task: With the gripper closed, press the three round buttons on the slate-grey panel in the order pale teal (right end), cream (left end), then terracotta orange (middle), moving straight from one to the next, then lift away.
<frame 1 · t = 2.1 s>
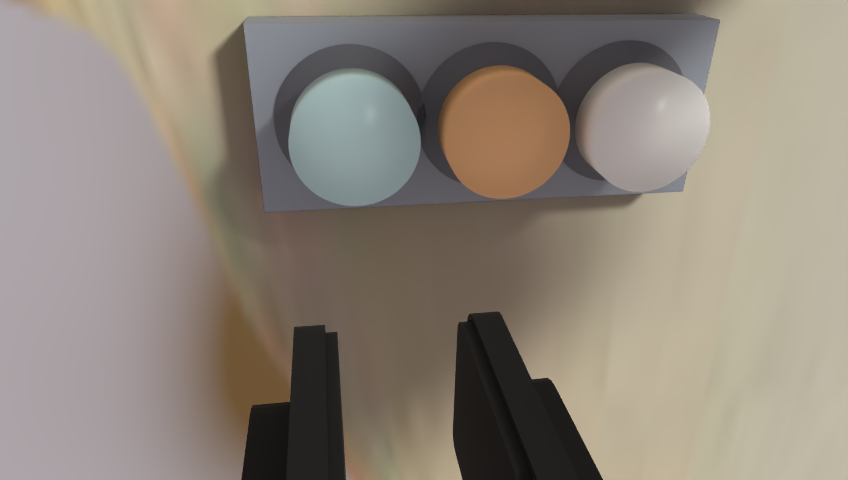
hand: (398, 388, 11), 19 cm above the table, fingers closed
orange button: (502, 132, 25), point 4 cm above the table, slide at 0.0 cm
cream button: (640, 127, 26), point 4 cm above the table, slide at 0.0 cm
button panel: (478, 105, 29), on the table
teal button: (354, 137, 25), point 4 cm above the table, slide at 0.0 cm
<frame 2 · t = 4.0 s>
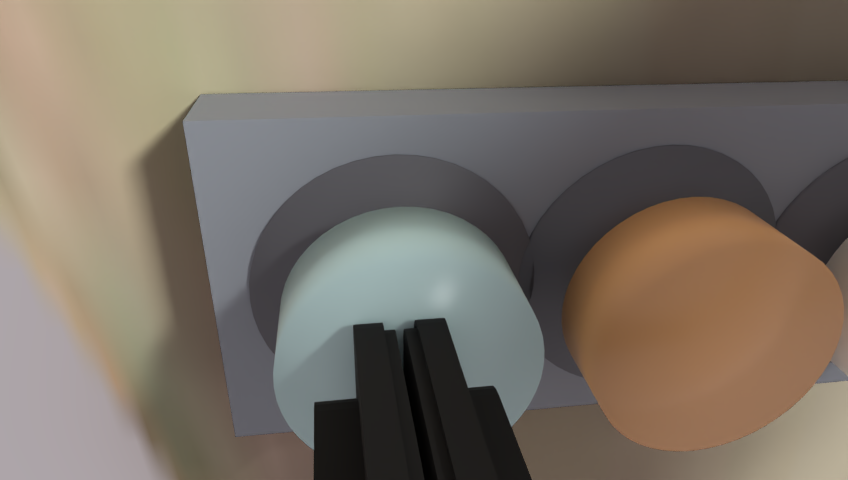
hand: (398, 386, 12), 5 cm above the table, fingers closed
orange button: (693, 326, 13), point 4 cm above the table, slide at 0.0 cm
button panel: (611, 235, 17), on the table
teal button: (406, 342, 12), point 4 cm above the table, slide at 0.2 cm, touching gripper
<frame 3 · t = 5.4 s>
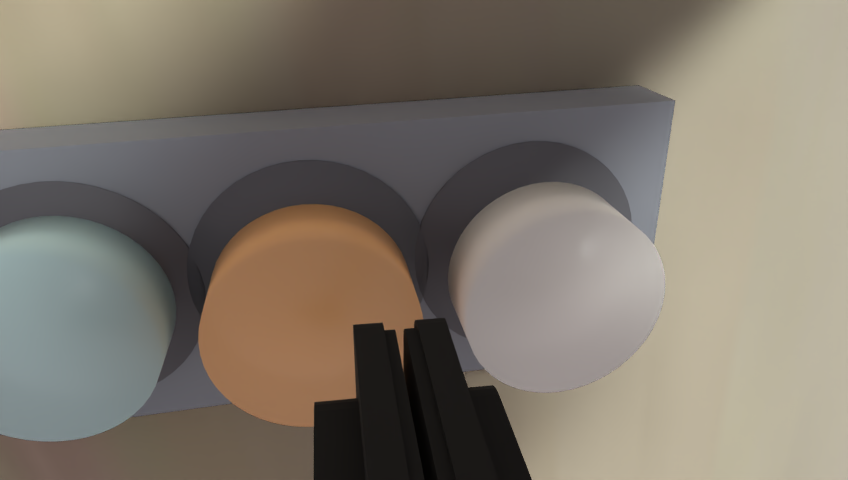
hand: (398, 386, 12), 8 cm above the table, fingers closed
orange button: (314, 316, 15), point 4 cm above the table, slide at 0.0 cm
cream button: (552, 288, 16), point 4 cm above the table, slide at 0.0 cm
button panel: (310, 241, 19), on the table
teal button: (56, 329, 15), point 3 cm above the table, slide at 0.8 cm
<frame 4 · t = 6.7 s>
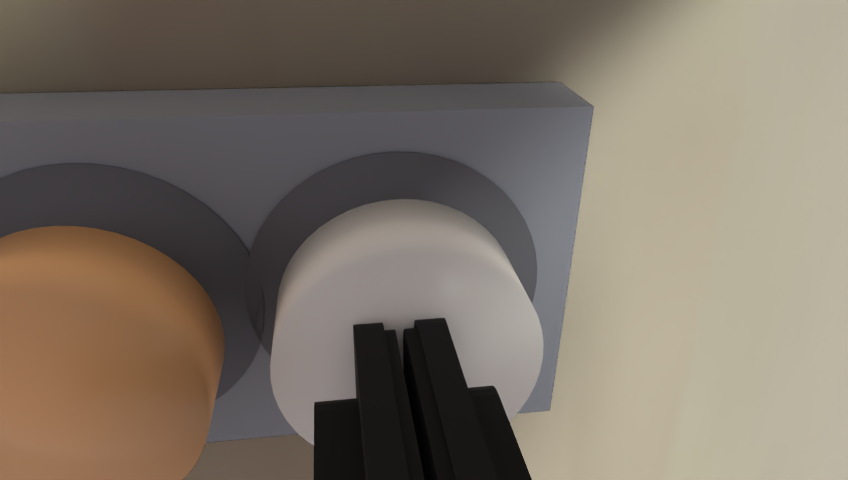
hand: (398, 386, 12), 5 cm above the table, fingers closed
orange button: (70, 377, 11), point 4 cm above the table, slide at 0.0 cm
cream button: (404, 336, 12), point 4 cm above the table, slide at 0.5 cm, touching gripper
button panel: (132, 260, 15), on the table
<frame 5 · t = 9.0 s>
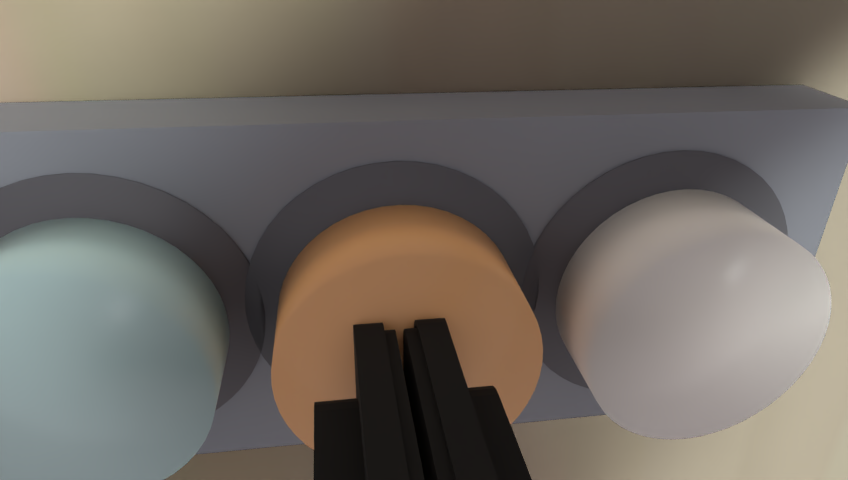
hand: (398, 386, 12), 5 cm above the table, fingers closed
orange button: (404, 341, 12), point 4 cm above the table, slide at 0.7 cm, touching gripper
cream button: (685, 316, 13), point 3 cm above the table, slide at 0.8 cm
button panel: (387, 255, 15), on the table
teal button: (83, 362, 12), point 3 cm above the table, slide at 0.8 cm
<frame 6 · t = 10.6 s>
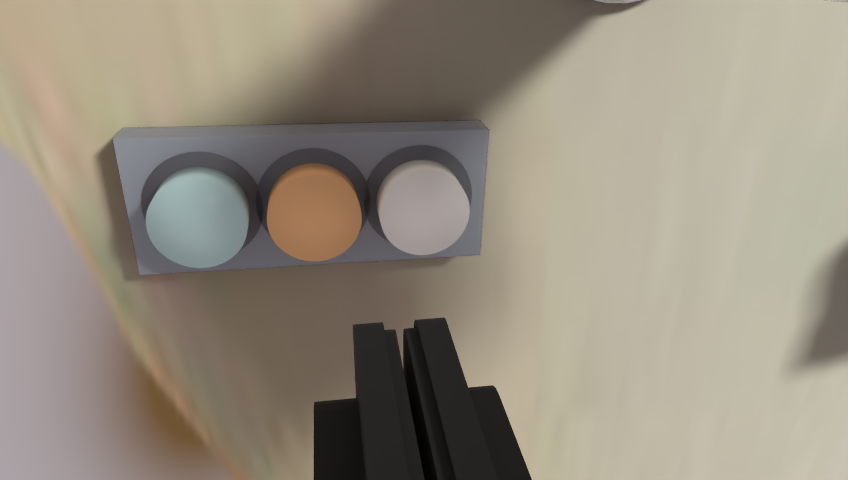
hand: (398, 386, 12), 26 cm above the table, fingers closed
orange button: (314, 212, 34), point 3 cm above the table, slide at 0.8 cm
cream button: (422, 207, 35), point 3 cm above the table, slide at 0.8 cm
button panel: (313, 189, 37), on the table
teal button: (200, 217, 33), point 3 cm above the table, slide at 0.8 cm
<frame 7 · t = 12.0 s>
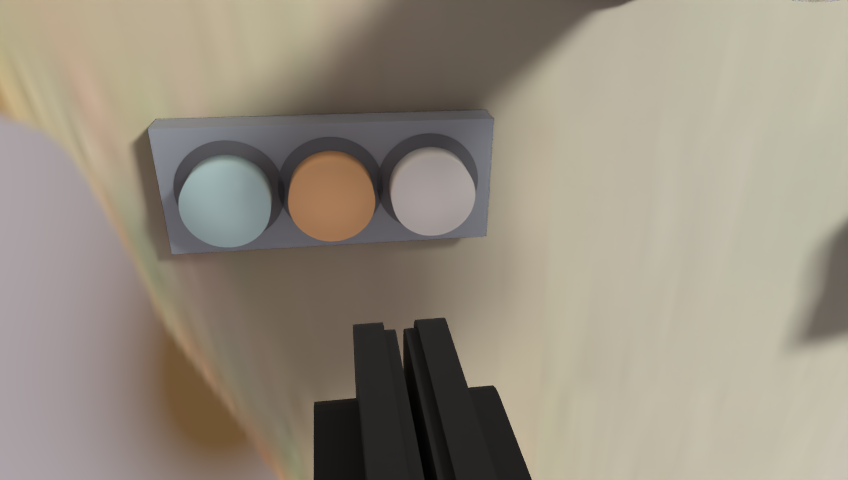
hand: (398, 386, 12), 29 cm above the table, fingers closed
orange button: (331, 196, 37), point 3 cm above the table, slide at 0.8 cm
cream button: (431, 191, 38), point 3 cm above the table, slide at 0.8 cm
button panel: (330, 175, 40), on the table
teal button: (227, 201, 36), point 3 cm above the table, slide at 0.8 cm
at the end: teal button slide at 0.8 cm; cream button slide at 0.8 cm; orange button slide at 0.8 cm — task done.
